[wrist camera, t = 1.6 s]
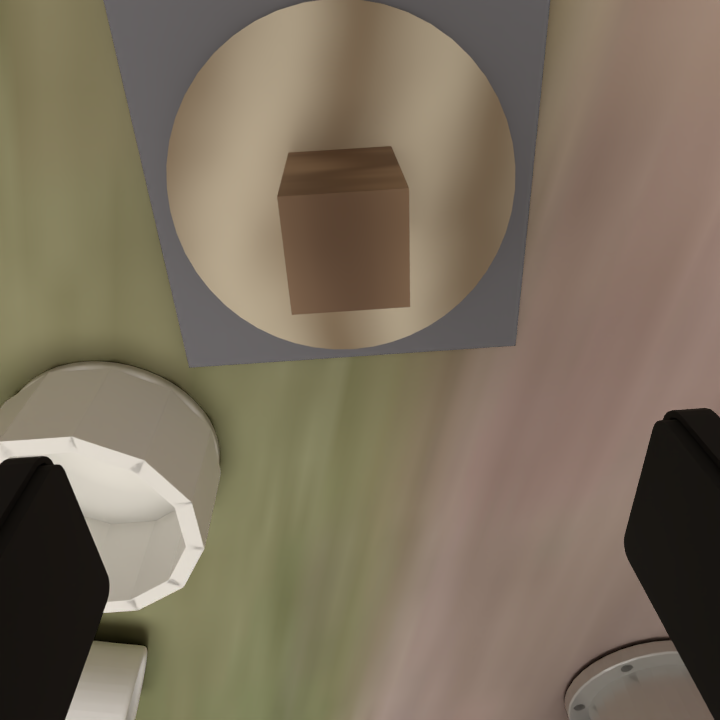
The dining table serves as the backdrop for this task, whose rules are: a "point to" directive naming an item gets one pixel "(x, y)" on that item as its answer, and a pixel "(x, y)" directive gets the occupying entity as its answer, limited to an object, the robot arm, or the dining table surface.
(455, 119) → the lid
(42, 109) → the dining table surface
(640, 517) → the robot arm
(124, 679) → the mug
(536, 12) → the mat
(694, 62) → the dining table surface
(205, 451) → the bowl
